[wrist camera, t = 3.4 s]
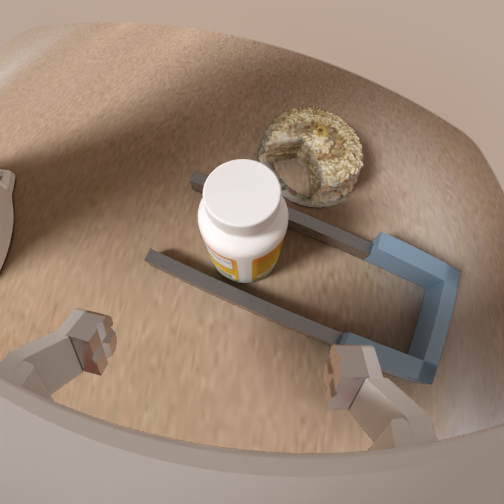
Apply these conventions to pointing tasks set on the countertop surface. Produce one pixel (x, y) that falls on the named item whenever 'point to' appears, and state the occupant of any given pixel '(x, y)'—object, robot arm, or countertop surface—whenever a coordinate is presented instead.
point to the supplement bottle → (243, 219)
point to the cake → (315, 153)
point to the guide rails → (255, 304)
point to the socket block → (431, 315)
